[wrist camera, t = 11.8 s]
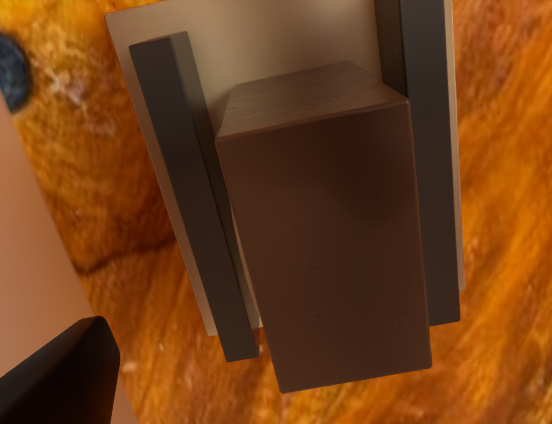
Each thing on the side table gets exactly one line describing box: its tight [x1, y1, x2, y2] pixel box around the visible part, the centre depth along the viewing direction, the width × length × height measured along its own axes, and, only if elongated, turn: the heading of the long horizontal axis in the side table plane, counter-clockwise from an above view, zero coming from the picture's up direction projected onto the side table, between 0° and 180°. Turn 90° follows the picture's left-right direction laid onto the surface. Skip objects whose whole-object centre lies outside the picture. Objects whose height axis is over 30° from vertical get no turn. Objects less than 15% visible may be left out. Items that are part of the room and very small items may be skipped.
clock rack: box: [104, 0, 465, 362], centre depth 16 cm, size 11×13×4 cm
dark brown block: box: [214, 61, 432, 393], centre depth 14 cm, size 4×7×7 cm, turn 11°
